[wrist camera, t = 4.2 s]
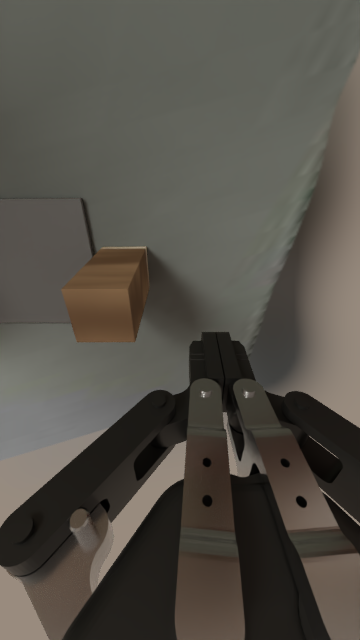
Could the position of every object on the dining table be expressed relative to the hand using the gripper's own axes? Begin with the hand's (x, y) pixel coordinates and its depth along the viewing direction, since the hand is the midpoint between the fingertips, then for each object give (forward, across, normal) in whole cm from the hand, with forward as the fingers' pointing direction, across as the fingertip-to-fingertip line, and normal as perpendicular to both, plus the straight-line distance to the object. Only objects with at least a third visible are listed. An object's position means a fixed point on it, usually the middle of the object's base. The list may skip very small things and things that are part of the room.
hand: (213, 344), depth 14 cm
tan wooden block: (+11, +7, 0) cm, 13 cm away
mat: (+11, +16, 0) cm, 20 cm away
